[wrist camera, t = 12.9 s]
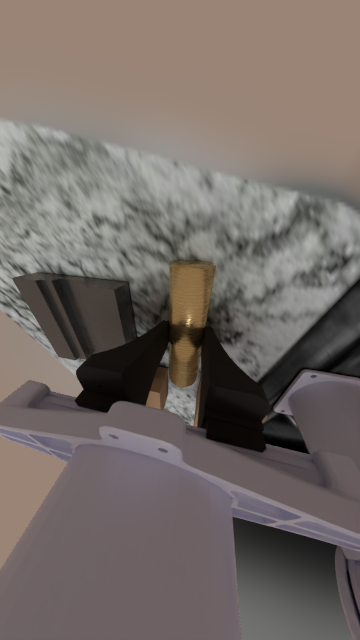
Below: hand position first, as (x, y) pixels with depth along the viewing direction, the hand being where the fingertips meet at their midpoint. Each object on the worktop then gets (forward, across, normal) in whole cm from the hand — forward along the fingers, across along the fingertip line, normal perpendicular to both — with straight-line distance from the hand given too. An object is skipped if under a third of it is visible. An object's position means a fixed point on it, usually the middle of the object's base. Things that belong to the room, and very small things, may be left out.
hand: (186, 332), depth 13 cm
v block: (+1, +11, +1) cm, 11 cm away
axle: (+2, 0, 0) cm, 2 cm away
